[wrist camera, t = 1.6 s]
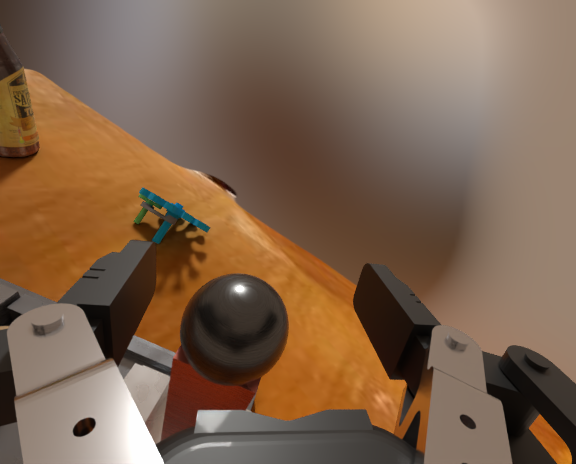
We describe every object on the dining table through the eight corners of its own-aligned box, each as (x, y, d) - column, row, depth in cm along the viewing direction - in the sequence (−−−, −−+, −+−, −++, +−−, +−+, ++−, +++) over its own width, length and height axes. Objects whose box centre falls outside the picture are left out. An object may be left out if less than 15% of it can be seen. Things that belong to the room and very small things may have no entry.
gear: (224, 231, 42) (186, 205, 33) (201, 266, 41) (156, 250, 32) (171, 201, 46) (123, 170, 36) (149, 232, 45) (95, 209, 35)
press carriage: (76, 467, 19) (-13, 293, 8) (143, 370, 25) (147, 186, 14) (213, 526, 19) (321, 436, 8) (249, 415, 25) (342, 269, 14)
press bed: (-210, 410, 18) (-278, 376, 15) (-10, 282, 28) (-28, 245, 25) (191, 583, 18) (201, 582, 15) (253, 394, 28) (267, 371, 25)
